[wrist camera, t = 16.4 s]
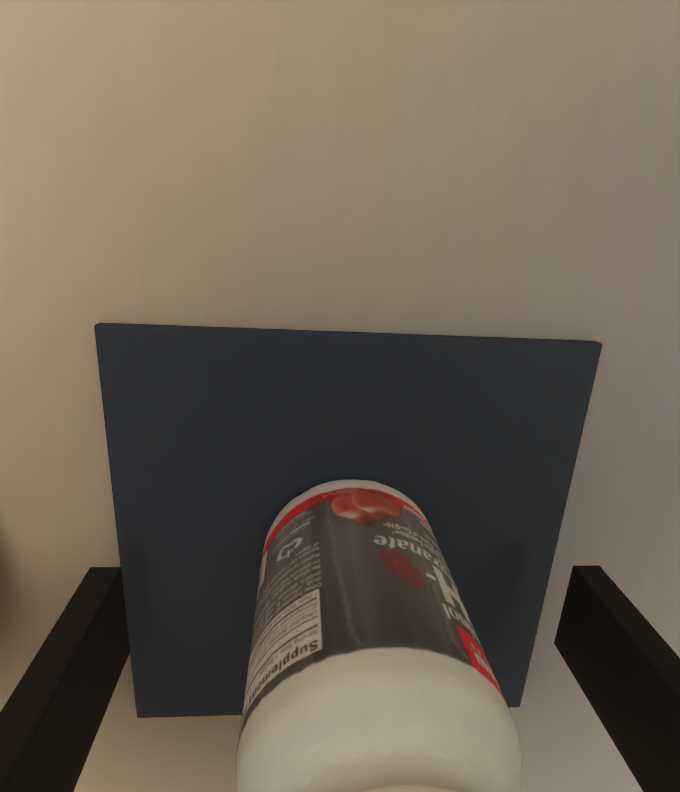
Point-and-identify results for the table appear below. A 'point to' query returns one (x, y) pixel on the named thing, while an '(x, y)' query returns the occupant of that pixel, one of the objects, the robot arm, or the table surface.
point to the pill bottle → (367, 658)
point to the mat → (327, 477)
